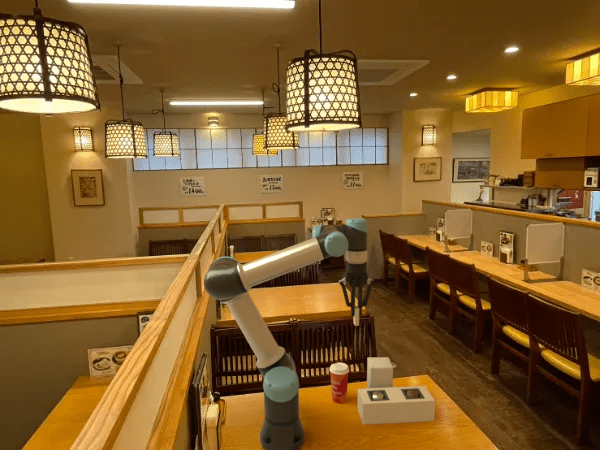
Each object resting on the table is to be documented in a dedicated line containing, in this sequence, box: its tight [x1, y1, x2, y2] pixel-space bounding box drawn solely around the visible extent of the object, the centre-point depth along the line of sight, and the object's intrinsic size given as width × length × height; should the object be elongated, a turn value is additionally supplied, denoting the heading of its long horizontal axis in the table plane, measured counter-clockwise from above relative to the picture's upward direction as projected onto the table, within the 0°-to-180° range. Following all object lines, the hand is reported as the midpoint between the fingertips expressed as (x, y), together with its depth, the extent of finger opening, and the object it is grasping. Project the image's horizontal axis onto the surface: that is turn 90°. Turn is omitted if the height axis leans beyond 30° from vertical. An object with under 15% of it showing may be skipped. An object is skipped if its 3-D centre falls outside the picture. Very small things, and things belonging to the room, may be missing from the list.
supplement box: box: [366, 356, 394, 389], centre depth 164 cm, size 9×9×15 cm
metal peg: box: [372, 391, 383, 400], centre depth 152 cm, size 4×4×8 cm
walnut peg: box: [407, 390, 418, 398], centre depth 153 cm, size 4×4×8 cm
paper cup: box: [329, 361, 350, 404], centre depth 163 cm, size 8×8×14 cm
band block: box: [357, 385, 436, 426], centre depth 153 cm, size 26×10×8 cm, turn 93°
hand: (356, 324), depth 151 cm, fingers closed
